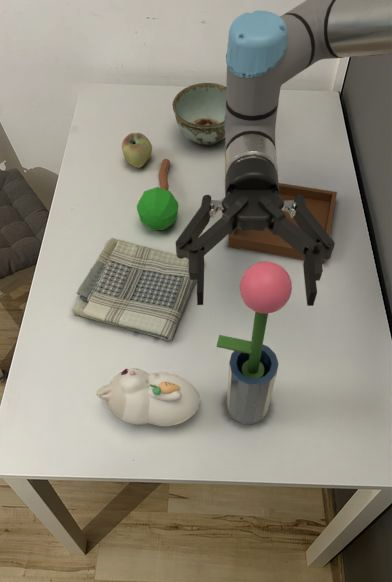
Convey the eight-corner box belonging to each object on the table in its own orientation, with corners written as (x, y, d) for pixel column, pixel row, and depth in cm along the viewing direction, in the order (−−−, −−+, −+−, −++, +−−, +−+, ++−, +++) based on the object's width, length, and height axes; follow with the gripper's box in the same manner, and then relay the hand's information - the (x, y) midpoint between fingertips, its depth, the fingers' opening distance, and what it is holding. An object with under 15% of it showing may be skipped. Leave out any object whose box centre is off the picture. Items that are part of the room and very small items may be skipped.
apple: (155, 147, 106) (152, 122, 101) (151, 173, 102) (148, 149, 97) (127, 146, 106) (123, 122, 101) (122, 172, 103) (117, 148, 97)
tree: (153, 181, 106) (141, 241, 93) (143, 147, 100) (129, 205, 88) (188, 176, 105) (181, 236, 92) (180, 141, 99) (172, 200, 86)
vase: (271, 391, 78) (281, 347, 65) (263, 429, 75) (273, 389, 62) (232, 383, 78) (235, 337, 66) (223, 419, 75) (225, 379, 63)
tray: (334, 201, 97) (337, 191, 95) (323, 263, 90) (326, 254, 87) (245, 187, 99) (245, 177, 97) (228, 246, 92) (228, 236, 90)
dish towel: (203, 263, 90) (203, 251, 88) (171, 345, 82) (170, 335, 79) (109, 241, 94) (106, 229, 91) (69, 318, 85) (64, 307, 83)
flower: (267, 392, 77) (299, 255, 49) (261, 423, 74) (290, 298, 46) (220, 381, 78) (225, 242, 50) (212, 412, 75) (213, 283, 47)
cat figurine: (204, 378, 69) (95, 368, 68) (199, 436, 69) (89, 426, 68) (201, 372, 78) (104, 363, 77) (196, 423, 78) (100, 414, 78)
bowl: (187, 111, 112) (185, 77, 105) (245, 122, 109) (247, 88, 102) (166, 151, 105) (163, 118, 98) (227, 164, 103) (228, 130, 96)
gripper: (334, 196, 74) (351, 316, 64) (166, 196, 75) (156, 315, 65) (345, 154, 67) (367, 280, 57) (161, 155, 68) (150, 279, 58)
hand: (255, 299), depth 61 cm, fingers open, 13 cm apart
